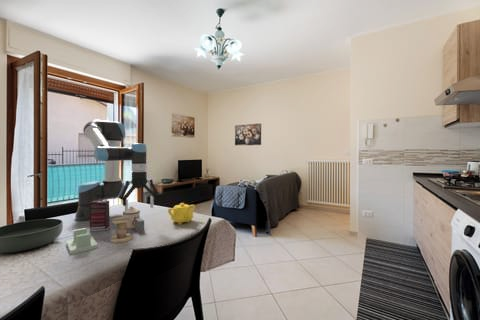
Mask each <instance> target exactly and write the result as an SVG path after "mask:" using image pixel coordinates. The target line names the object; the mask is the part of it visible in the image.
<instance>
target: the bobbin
mask: <svg viewBox="0 0 480 320" xmlns="http://www.w3.org/2000/svg"><path fill="white" fill-rule="evenodd" d="M111 221H112V223H113V224H114V225H115V224H116V234H115V235H113V236H111V237H110V238H109V241H110V243H112V244H113V243H115V244H118V243H119V244H120V243H125V242H128V241H131V240H132V239H133V238H134V237H133V234H132V233H129V232H128V233H127V231H128V230H127V229H128V228H127V222H129V221H130V217H123V216H120V217H115V218H113V219H112V220H111Z"/></svg>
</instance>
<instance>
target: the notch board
mask: <svg viewBox="0 0 480 320" xmlns="http://www.w3.org/2000/svg"><path fill="white" fill-rule="evenodd" d="M72 231H73V232H72V233H73V239H70V240H66V246H67V248H68V249H67V250H68V252H69V254H70V255H74V254H77V253H81V252H85V251H88V250H89V251H90V250H93V249H98V248H99V244H98V243H97V241H96V240H95V237H94V236H92V234H91V232H88V229H87V227H83V228H78V229H73V230H72Z"/></svg>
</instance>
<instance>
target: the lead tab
mask: <svg viewBox="0 0 480 320" xmlns="http://www.w3.org/2000/svg"><path fill="white" fill-rule="evenodd" d="M134 230H135V231H136V232H138V233H142V232H145V220H144V219H142V218H141V217H140V218H138V219H135V228H134Z"/></svg>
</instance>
